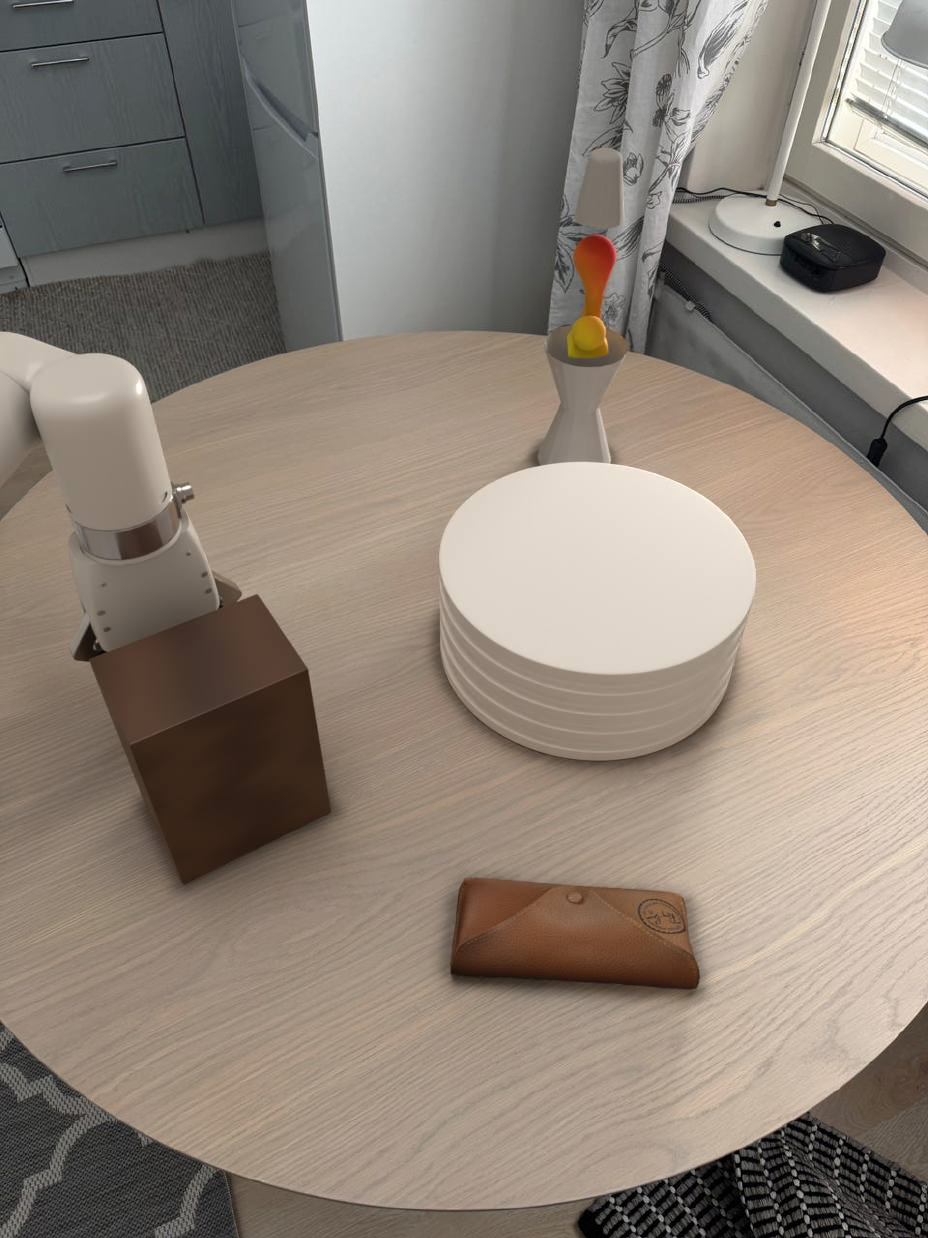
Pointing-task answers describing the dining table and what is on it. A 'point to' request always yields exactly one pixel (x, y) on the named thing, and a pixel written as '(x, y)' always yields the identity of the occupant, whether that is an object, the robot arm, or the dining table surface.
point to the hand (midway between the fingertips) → (175, 677)
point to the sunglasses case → (572, 934)
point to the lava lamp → (588, 325)
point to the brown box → (218, 733)
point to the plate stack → (592, 608)
